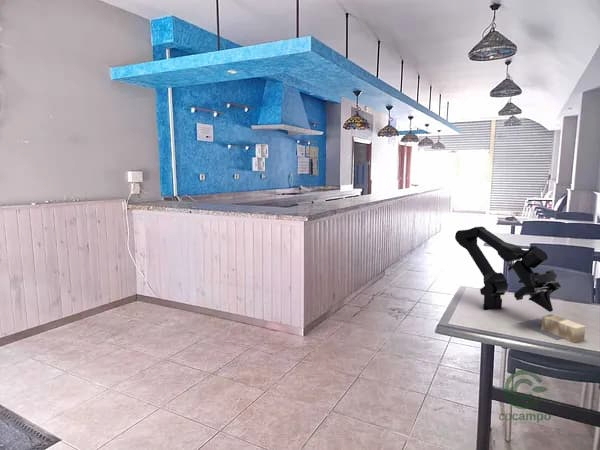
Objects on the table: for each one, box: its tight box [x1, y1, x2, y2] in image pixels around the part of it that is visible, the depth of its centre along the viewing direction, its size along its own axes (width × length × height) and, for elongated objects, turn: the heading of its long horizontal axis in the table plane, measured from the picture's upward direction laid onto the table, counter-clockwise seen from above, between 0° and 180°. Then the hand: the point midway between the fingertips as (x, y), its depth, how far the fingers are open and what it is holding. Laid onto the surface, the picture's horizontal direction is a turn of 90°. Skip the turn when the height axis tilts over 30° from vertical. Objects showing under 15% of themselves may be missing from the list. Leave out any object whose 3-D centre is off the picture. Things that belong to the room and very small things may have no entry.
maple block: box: [541, 314, 586, 343], centre depth 140 cm, size 5×5×12 cm
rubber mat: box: [516, 318, 564, 341], centre depth 146 cm, size 16×12×1 cm
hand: (551, 311), depth 144 cm, fingers closed
